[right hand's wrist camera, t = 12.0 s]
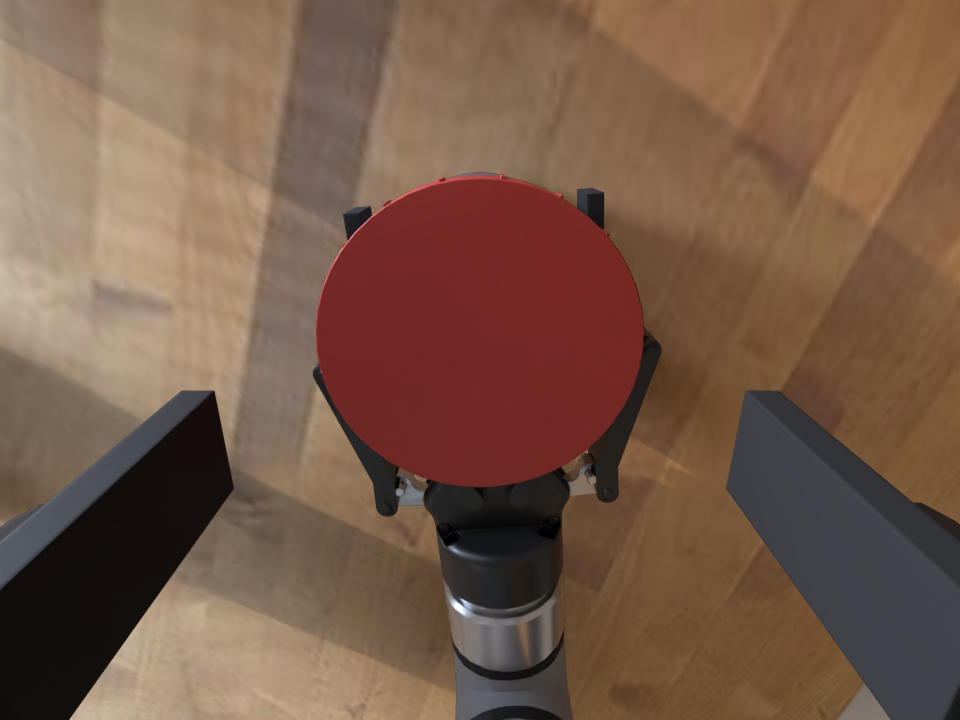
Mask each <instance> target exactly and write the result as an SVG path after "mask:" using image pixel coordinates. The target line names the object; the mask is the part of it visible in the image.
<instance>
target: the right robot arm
mask: <svg viewBox="0 0 960 720" xmlns="http://www.w3.org/2000/svg"><path fill="white" fill-rule="evenodd" d="M233 489H234V487H233V482H232V477H231V472H230V467H229V462H228V457H227V452H226V446H225V441H224V436H223V431H222V426H221V421H220V416H219V411H218V406H217V401H216V396H215V391H181V392H180V393H179V394H177V395H176V396H175V397H174V398H172V399H171V400H170V401H169V402H168V403H166V404H165V405H164V406H163V407H162V408H160V409H159V410H158V411H157V412H156V413H154V414H153V415H152V416H151V417H150V418H148V419H147V420H146V421H145V422H144V423H142V424H141V425H140V426H139V427H138V428H136V429H135V430H134V431H133V432H131V433H130V434H129V435H128V436H127V437H125V438H124V439H123V440H122V441H121V442H119V443H118V444H117V445H116V446H115V447H113V448H112V449H111V450H110V451H109V452H107V453H106V454H105V455H104V456H103V457H101V458H100V459H99V460H98V461H97V462H95V463H94V464H93V465H92V466H90V467H89V468H88V469H87V470H86V471H84V472H83V473H82V474H81V475H80V476H78V477H77V478H76V479H75V480H74V481H72V482H71V483H70V484H69V485H68V486H66V487H65V488H64V489H63V490H62V491H60V492H59V493H58V494H57V495H56V496H54V497H53V498H52V499H51V500H49V501H48V502H47V503H46V504H45V505H38V506H36V507H34V508H32V509H30V510H29V511H27V512H25V513H23V514H21V515H19V516H17V517H16V518H14V519H12V520H10V521H8V522H6V523H5V524H4V525H2V526H1V527H0V720H69V719H70V718H71V716H72V715H73V714H74V712H75V711H76V709H77V708H78V707H79V705H80V704H81V702H82V701H83V700H84V698H85V697H86V695H87V694H88V693H89V691H90V690H91V688H92V687H93V686H94V684H95V683H96V681H97V680H98V679H99V677H100V676H101V674H102V673H103V672H104V670H105V669H106V667H107V666H108V665H109V663H110V662H111V660H112V659H113V658H114V656H115V655H116V653H117V652H118V650H119V649H120V648H121V646H122V645H123V643H124V642H125V641H126V639H127V638H128V636H129V635H130V634H131V632H132V631H133V629H134V628H135V627H136V625H137V624H138V622H139V621H140V620H141V618H142V617H143V615H144V614H145V613H146V611H147V610H148V608H149V607H150V606H151V604H152V603H153V601H154V600H155V599H156V597H157V596H158V594H159V593H160V592H161V590H162V589H163V587H164V586H165V585H166V583H167V582H168V580H169V579H170V578H171V576H172V575H173V573H174V572H175V571H176V569H177V568H178V566H179V565H180V564H181V562H182V561H183V559H184V558H185V557H186V555H187V554H188V552H189V551H190V550H191V548H192V547H193V545H194V544H195V542H196V541H197V540H198V538H199V537H200V535H201V534H202V533H203V531H204V530H205V528H206V527H207V526H208V524H209V523H210V521H211V520H212V519H213V517H214V516H215V514H216V513H217V512H218V510H219V509H220V507H221V506H222V505H223V503H224V502H225V500H226V499H227V498H228V496H229V495H230V493H231V492H232V491H233ZM726 489H727V491H728V492H729V493H730V495H731V496H732V498H733V499H734V500H735V502H736V503H737V505H738V506H739V507H740V509H741V510H742V512H743V513H744V514H745V516H746V517H747V519H748V520H749V521H750V523H751V524H752V526H753V527H754V528H755V530H756V531H757V533H758V534H759V535H760V537H761V538H762V540H763V541H764V543H765V544H766V545H767V547H768V548H769V550H770V551H771V552H772V554H773V555H774V557H775V558H776V559H777V561H778V562H779V564H780V565H781V566H782V568H783V569H784V571H785V572H786V573H787V575H788V576H789V578H790V579H791V580H792V582H793V583H794V585H795V586H796V587H797V589H798V590H799V592H800V593H801V594H802V596H803V597H804V599H805V600H806V601H807V603H808V604H809V606H810V607H811V608H812V610H813V611H814V613H815V614H816V615H817V617H818V618H819V620H820V621H821V622H822V624H823V625H824V627H825V628H826V629H827V631H828V632H829V634H830V635H831V636H832V638H833V639H834V641H835V642H836V643H837V645H838V646H839V648H840V649H841V650H842V652H843V653H844V655H845V656H846V658H847V659H848V660H849V662H850V663H851V665H852V666H853V667H854V669H855V670H856V672H857V673H858V674H859V676H860V677H861V679H862V680H863V681H864V683H865V684H866V686H867V687H868V688H869V690H870V691H871V693H872V694H873V695H874V697H875V698H876V700H877V701H878V702H879V704H880V705H881V707H882V708H883V709H884V711H885V712H886V714H887V715H888V716H889V718H890V719H891V720H960V524H958V523H957V522H956V521H954V520H953V519H951V518H949V517H947V516H945V515H943V514H941V513H939V512H937V511H936V510H934V509H932V508H930V507H928V506H926V505H924V504H922V503H913V502H912V501H911V500H909V499H908V498H907V497H906V496H904V495H903V494H902V493H901V492H900V491H898V490H897V489H896V488H895V487H894V486H892V485H891V484H890V483H889V482H888V481H886V480H885V479H884V478H883V477H882V476H880V475H879V474H878V473H877V472H876V471H874V470H873V469H872V468H871V467H870V466H868V465H867V464H866V463H865V462H863V461H862V460H861V459H860V458H859V457H857V456H856V455H855V454H854V453H853V452H851V451H850V450H849V449H848V448H847V447H845V446H844V445H843V444H842V443H841V442H839V441H838V440H837V439H836V438H835V437H833V436H832V435H831V434H830V433H829V432H827V431H826V430H825V429H824V428H822V427H821V426H820V425H819V424H818V423H816V422H815V421H814V420H813V419H812V418H810V417H809V416H808V415H807V414H806V413H804V412H803V411H802V410H801V409H800V408H798V407H797V406H796V405H795V404H794V403H792V402H791V401H790V400H789V399H788V398H786V397H785V396H784V395H783V394H781V393H780V392H779V391H745V396H744V401H743V406H742V411H741V416H740V421H739V426H738V431H737V436H736V441H735V446H734V452H733V457H732V462H731V467H730V472H729V477H728V482H727V487H726Z"/></svg>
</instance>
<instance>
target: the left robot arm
mask: <svg viewBox="0 0 960 720" xmlns="http://www.w3.org/2000/svg"><path fill="white" fill-rule="evenodd" d="M577 209H579V210H580V211H581V212H583V213H584V214H586V215H587V216H588V217H589V218H590V219H591V220H593V221H594V222H595V223H596V224H597V225H598V226H599V227H600V228H601V229H603V230H604V193H603V192H601V191H598V190H596V189H593V188H588V189H577ZM371 216H372V212H371V206H368V207H356V208H354V209H352V210H350V211H348V212H346V213H344V214H343V217H344V223H345V229H346V235H347V241H348V240H349V239H350V238H351V237H352V235H353V234H354V233H355V232H356V231H357V230H358V229H359V228H360V227H361V226H362V225H363V224H364V223H365V222H366V221H367V220H368V219H369V218H370V217H371ZM660 354H661V346H660V344H659V343H658V342H657V341H656V339H655V338H654V337H653V336H652V335H651V334H650V333H649V331H647V330H646V328H645V327H644V338H643V352H642V357H641V363H640V368H639V371H638V374H637V377H636V380H635V383H634V386H633V389H632V391H631V393H630V395H629V397H628V399H627V401H626V403H625V405H624V407H623V409H622V410H621V412H620V413H619V415H618V416H617V418H616V419H615V421H614V422H613V423H612V425H611V426H610V427H609V428H608V429H607V430H606V432H605V433H604V434H603V435H602V436H601V437H600V438H599V439H598V440H597V441H596V442H595V443H594V444H593V445H592V446H590V447H589V448H588V454H587V453H584V454H582V455H581V456H580V459H579V460H578V462H577V466H576V468H575V469H574V470H573V471H572V472H569V473H565V471H564V470H563V469H562V468H561V467H559V468H558V469H556V470H554V471H551V472H549V473H547V474H544V475H542V476H539V477H537V478H534V479H530V480H527V481H523V482H520V483H515V484H509V485H503V486H492V487H468V486H457V485H451V484H445V483H440V482H437V481H433V480H430V479H427V481H426V482H420V481H418V480H417V479H416V478H415V477H414V475H413V473H411V472H408V471H406V470H404V469H402V468H400V467H399V466H397V465H395V464H393V463H391V462H389V461H388V460H386V459H385V458H384V457H382V456H381V455H379V454H378V453H377V452H375V451H374V450H373V449H372V448H370V447H369V446H368V445H367V444H366V443H365V442H364V441H363V440H362V439H361V438H359V437H358V435H357V434H356V433H355V432H354V431H353V430H352V428H351V427H350V426H349V425H348V424H347V423H346V421H345V420H344V418H343V417H342V415H341V414H340V412H339V411H338V409H337V407H336V406H335V404H334V402H333V400H332V398H331V396H330V394H329V392H328V390H327V387H326V384H325V381H324V378H323V375H322V372H321V369H320V364H319V363H318V364H317V365H316V367H315V368H314V370H313V376H314V379H315V381H316V382H317V384H318V386H319V388H320V390H321V391H322V393H323V395H324V397H325V398H326V400H327V402H328V404H329V406H330V407H331V409H332V411H333V413H334V414H335V416H336V418H337V420H338V422H339V423H340V425H341V427H342V429H343V430H344V432H345V434H346V436H347V438H348V439H349V441H350V443H351V445H352V446H353V448H354V450H355V452H356V454H357V455H358V457H359V459H360V461H361V462H362V464H363V466H364V468H365V470H366V471H367V473H368V475H369V477H370V478H371V480H372V482H373V485H374V493H375V501H376V509H377V511H378V512H379V514H381V515H383V516H387V517H389V516H393V515H394V514H395V513H396V512H397V509H398V506H419V505H425V507H426V509H427V510H428V511H429V513H430V514H431V515H432V517H433V518H434V520H435V524H436V531H437V538H438V546H439V553H440V561H441V568H442V575H443V578H444V591H445V598H446V605H447V612H448V618H449V625H450V634H451V639H452V644H453V653H454V663H455V674H456V715H455V720H573V716H572V709H571V703H570V697H569V691H568V683H567V673H566V658H565V644H564V623H565V608H564V580H563V571H562V569H563V541H562V511H563V508H564V506H565V504H566V503H567V501H568V499H569V497H570V496H577V495H587V494H597V497H598V499H599V500H600V501H602V502H604V503H609V502H613V501H614V500H616V498H617V497H618V493H619V489H618V465H619V463H620V460H621V458H622V455H623V452H624V450H625V447H626V444H627V442H628V439H629V436H630V434H631V431H632V428H633V426H634V423H635V420H636V418H637V415H638V413H639V410H640V407H641V405H642V402H643V399H644V397H645V394H646V391H647V389H648V386H649V383H650V381H651V378H652V376H653V373H654V370H655V368H656V365H657V362H658V360H659V357H660Z"/></svg>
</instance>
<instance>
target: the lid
mask: <svg viewBox="0 0 960 720" xmlns="http://www.w3.org/2000/svg"><path fill="white" fill-rule="evenodd" d="M563 198H564V196H562V195H561V194H559V193H556V195H555V194H553V193H551V192H549V191H547V190H546V189H544V188H541V187H538V186H535V185H532V184H530V183H527V182H524V181H520V180H515V179H510V178H506V177H505V176H504V175H503V174H500V177H499V176H484V175H475V176H461V177H454V178H449V179H445V178H444V177H441V178H440V179H439V181H436V182H433V183H430V184H427V185H424V186H422V187H419V188H416V189H414V190H412V191H410V192H408V193H407V194H405V195H403V196H401V197H399V198H397V199H395V200H394V201H392V202H391V200H389V201H388V202H386V203H385V204H383V207H384V208H382V209H381V210H380V211H378V212H377V213H376V214H374V215H373V216H371V217H370V218H369V219H368V220H367V221H366V222H365V223H364V224H363V225H362V226H361V227H360V228H359V229H358V230H357V231H356V232H355V233H354V234H353V235H352V237H351V238H350V239H349V240H348V242H346V243H345V244H344V245H343V246H342V247H341V248H342V249H341V251H340V253H339V254H338V256H337V258H336V260H335V261H334V263H333V265H332V267H331V269H330V271H329V273H328V276H327V278H326V281H325V284H324V286H323V289H322V293H321V297H320V301H319V306H318V311H317V322H316V344H317V353H318V359H319V364H320V369H321V372H322V375H323V378H324V381H325V384H326V387H327V390H328V392H329V394H330V396H331V398H332V400H333V402H334V404H335V406H336V407H337V409H338V411H339V412H340V414H341V415H342V417H343V418H344V420H345V421H346V423H347V424H348V425H349V426H350V427H351V428H352V430H353V431H354V432H355V433H356V434H357V435H358V437H359V438H361V439H362V440H363V441H364V442H365V443H366V444H367V445H368V446H369V447H370V448H372V449H373V450H374V451H375V452H377V453H378V454H379V455H381V456H382V457H384V458H385V459H386V460H388V461H389V462H391V463H393V464H395V465H397V466H399V467H400V468H402V469H404V470H406V471H408V472H411V473H413V474H416V475H418V476H420V477H423V478H426V479H430V480H433V481H437V482H440V483H445V484H451V485H457V486H468V487H492V486H503V485H509V484H515V483H520V482H523V481H527V480H530V479H534V478H537V477H539V476H542V475H544V474H547V473H549V472H551V471H554V470H556V469H558V468H559V467H561V466H563V465H565V464H567V463H568V462H570V461H572V460H573V459H575V458H576V457H577V456H579V455H580V454H582V453H583V452H584V451H586V450H587V449H588V448H589V447H590V446H592V445H593V444H594V443H595V442H596V441H597V440H598V439H599V438H600V437H601V436H602V435H603V434H604V433H605V432H606V430H607V429H608V428H609V427H610V426H611V425H612V423H613V422H614V421H615V419H616V418H617V416H618V415H619V413H620V412H621V410H622V409H623V407H624V405H625V403H626V401H627V399H628V397H629V395H630V393H631V391H632V389H633V386H634V383H635V380H636V377H637V374H638V371H639V368H640V363H641V357H642V352H643V338H644V325H643V314H642V307H641V302H640V298H639V294H638V290H637V287H636V283H635V282H634V279H633V277H632V274H631V272H630V269H629V267H628V266H627V264H626V262H625V260H624V259H623V257H622V255H621V253H620V252H619V250H618V249H617V247H616V246H615V245H614V243H613V242H612V241H611V240H610V238H609V236H610V235H609V234H608V233H607V232H605V231H604V230H603V229H601V228H600V227H599V226H598V225H597V224H596V223H595V222H594V221H593V220H591V219H590V218H589V217H588V216H587V215H586V214H584V213H583V212H581V211H580V210H579V209H577V208H576V207H574V206H573V205H572V204H570V203H569V202H567V201H566V200H564V199H563Z"/></svg>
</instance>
